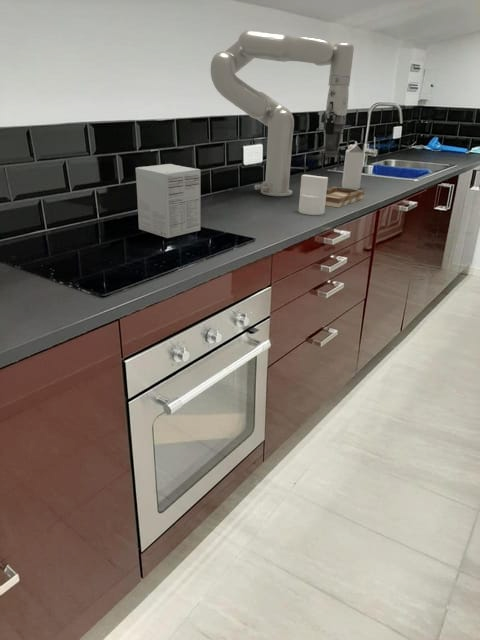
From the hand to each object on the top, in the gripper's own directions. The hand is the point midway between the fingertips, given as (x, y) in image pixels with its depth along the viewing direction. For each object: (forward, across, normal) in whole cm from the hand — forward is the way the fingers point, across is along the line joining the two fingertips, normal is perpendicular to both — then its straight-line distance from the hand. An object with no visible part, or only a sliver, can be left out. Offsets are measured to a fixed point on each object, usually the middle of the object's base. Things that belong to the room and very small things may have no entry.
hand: (333, 133), depth 187 cm
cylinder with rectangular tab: (+24, -29, -7) cm, 38 cm away
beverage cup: (+9, 0, 0) cm, 9 cm away
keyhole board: (+24, -5, -6) cm, 25 cm away
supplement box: (+24, -78, +15) cm, 83 cm away
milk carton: (+24, +25, -1) cm, 35 cm away
